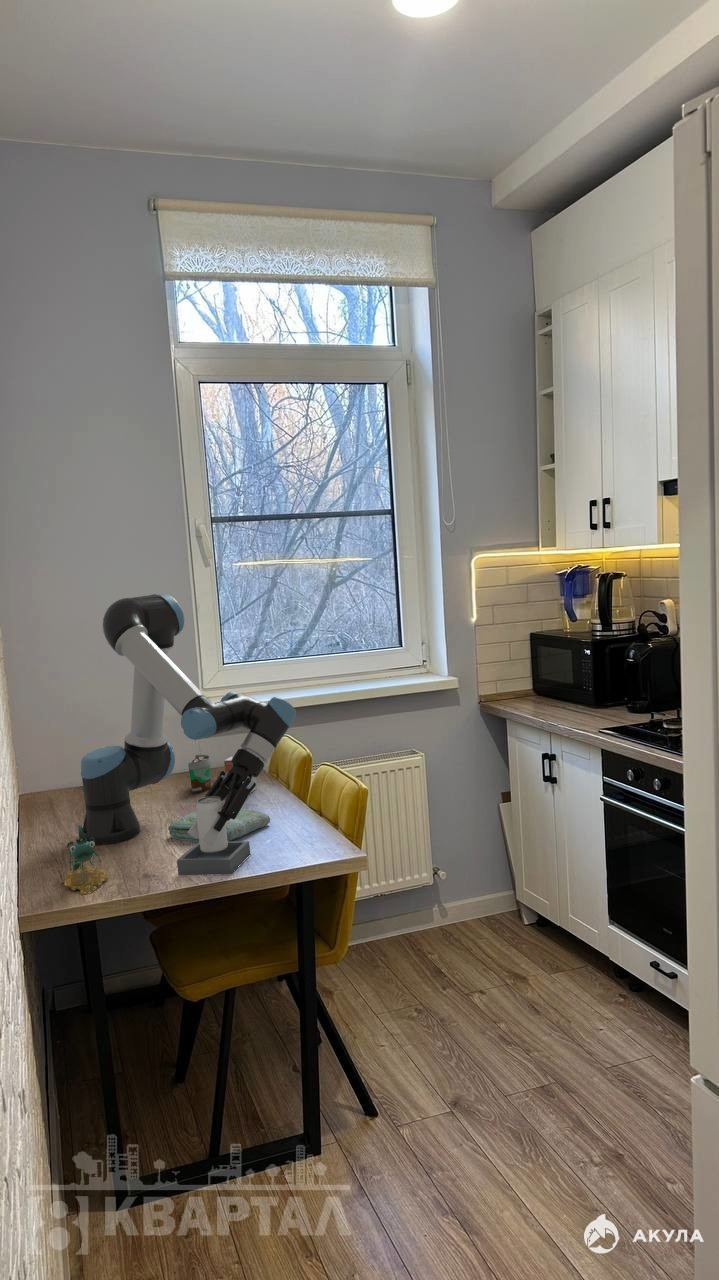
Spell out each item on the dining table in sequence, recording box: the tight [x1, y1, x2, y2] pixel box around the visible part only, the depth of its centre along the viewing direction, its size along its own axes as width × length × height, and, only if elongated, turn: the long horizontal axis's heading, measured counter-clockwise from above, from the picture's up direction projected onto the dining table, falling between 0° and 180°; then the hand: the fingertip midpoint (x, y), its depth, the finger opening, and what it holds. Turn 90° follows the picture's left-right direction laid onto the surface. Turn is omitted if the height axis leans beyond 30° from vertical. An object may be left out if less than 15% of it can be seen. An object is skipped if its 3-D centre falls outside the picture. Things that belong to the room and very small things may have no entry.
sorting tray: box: [176, 840, 251, 876], centre depth 218 cm, size 13×13×4 cm
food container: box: [187, 754, 213, 794], centre depth 292 cm, size 12×6×10 cm, turn 179°
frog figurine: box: [63, 824, 108, 896], centre depth 213 cm, size 10×18×15 cm, turn 18°
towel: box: [167, 809, 271, 843], centre depth 245 cm, size 18×21×5 cm
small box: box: [223, 756, 258, 794], centre depth 285 cm, size 8×6×10 cm
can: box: [195, 796, 228, 853], centre depth 217 cm, size 6×6×12 cm
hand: (199, 838), depth 216 cm, fingers closed on can, 6 cm apart
